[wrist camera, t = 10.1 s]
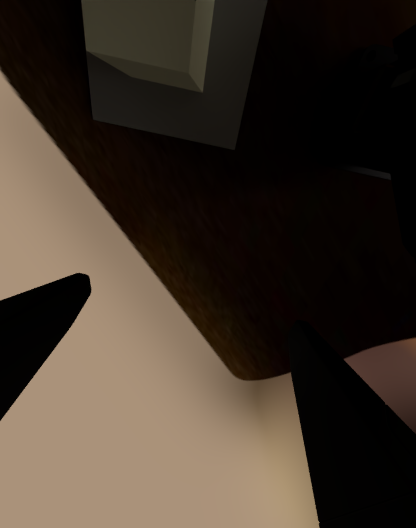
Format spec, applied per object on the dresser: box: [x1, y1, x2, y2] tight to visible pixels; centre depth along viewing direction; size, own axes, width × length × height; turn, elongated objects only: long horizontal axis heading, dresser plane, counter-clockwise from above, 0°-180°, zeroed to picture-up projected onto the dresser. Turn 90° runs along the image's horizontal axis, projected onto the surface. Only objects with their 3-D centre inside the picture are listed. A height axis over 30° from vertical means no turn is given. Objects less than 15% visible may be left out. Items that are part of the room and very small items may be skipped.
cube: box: [81, 0, 215, 93], centre depth 11 cm, size 5×5×5 cm
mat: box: [81, 0, 267, 150], centre depth 13 cm, size 11×11×1 cm
